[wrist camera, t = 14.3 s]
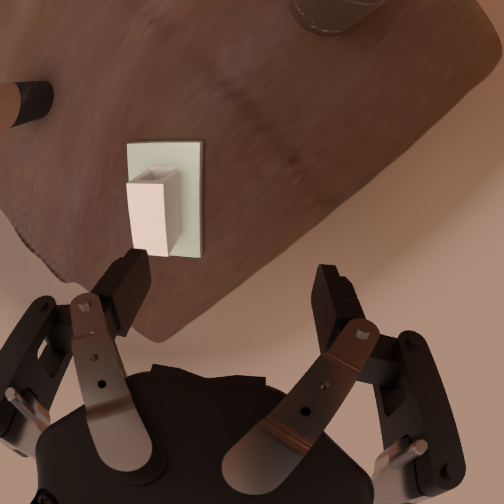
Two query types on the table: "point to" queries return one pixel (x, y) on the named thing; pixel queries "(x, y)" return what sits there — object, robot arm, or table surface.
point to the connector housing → (154, 212)
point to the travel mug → (24, 102)
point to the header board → (190, 183)
